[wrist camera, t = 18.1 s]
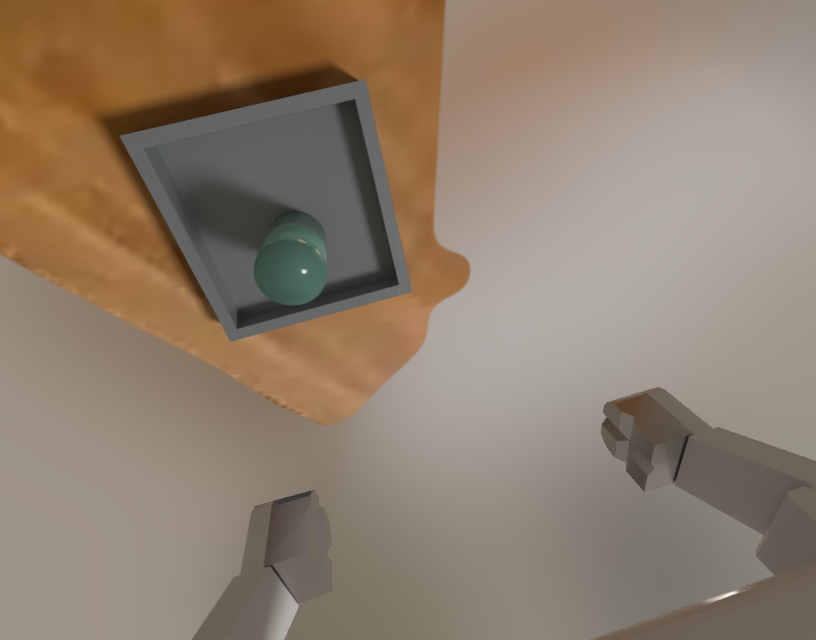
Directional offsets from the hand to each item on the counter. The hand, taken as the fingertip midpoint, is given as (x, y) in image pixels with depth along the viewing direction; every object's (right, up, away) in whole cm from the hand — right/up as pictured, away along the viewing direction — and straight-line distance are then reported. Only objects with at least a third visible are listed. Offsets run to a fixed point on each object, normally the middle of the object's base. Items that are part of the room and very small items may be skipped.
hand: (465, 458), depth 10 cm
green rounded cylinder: (-13, +12, +28) cm, 34 cm away
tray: (-13, +14, +28) cm, 34 cm away
